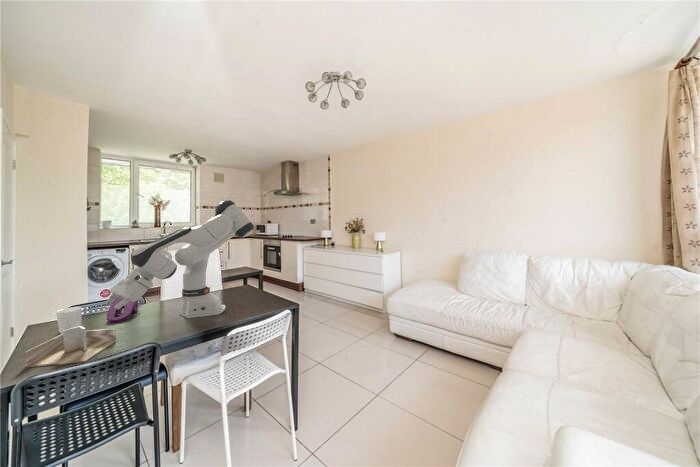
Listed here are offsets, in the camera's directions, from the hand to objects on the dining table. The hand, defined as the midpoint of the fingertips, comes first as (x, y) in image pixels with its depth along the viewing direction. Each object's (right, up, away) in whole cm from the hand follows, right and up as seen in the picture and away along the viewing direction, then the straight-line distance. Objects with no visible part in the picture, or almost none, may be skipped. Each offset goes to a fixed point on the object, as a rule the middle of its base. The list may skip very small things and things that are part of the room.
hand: (111, 306), depth 107 cm
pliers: (-37, -13, +38) cm, 55 cm away
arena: (-6, -16, -9) cm, 19 cm away
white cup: (-29, -15, +10) cm, 34 cm away
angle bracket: (-5, -15, -9) cm, 19 cm away
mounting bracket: (-20, -14, +27) cm, 36 cm away
